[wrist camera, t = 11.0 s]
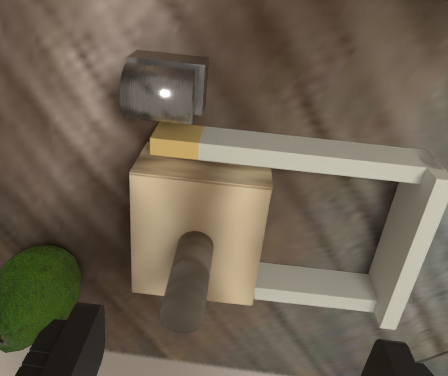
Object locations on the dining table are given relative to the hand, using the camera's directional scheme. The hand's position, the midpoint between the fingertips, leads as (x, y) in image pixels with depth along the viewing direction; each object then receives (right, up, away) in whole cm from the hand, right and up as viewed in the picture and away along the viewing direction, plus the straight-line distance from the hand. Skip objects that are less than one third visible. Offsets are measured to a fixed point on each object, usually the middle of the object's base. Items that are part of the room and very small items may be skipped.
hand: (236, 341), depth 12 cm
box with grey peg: (-2, +3, +29) cm, 29 cm away
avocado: (-19, -3, +33) cm, 38 cm away
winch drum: (-5, +14, +23) cm, 27 cm away
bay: (+5, +2, +28) cm, 29 cm away
